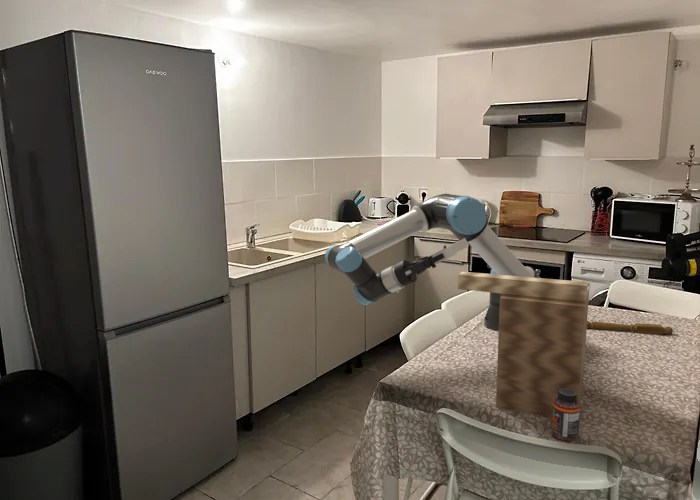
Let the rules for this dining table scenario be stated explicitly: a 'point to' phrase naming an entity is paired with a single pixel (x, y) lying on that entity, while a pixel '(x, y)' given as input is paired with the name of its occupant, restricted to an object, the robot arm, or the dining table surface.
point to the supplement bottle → (566, 415)
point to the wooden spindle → (631, 327)
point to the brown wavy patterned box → (539, 351)
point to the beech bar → (523, 286)
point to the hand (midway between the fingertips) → (461, 245)
